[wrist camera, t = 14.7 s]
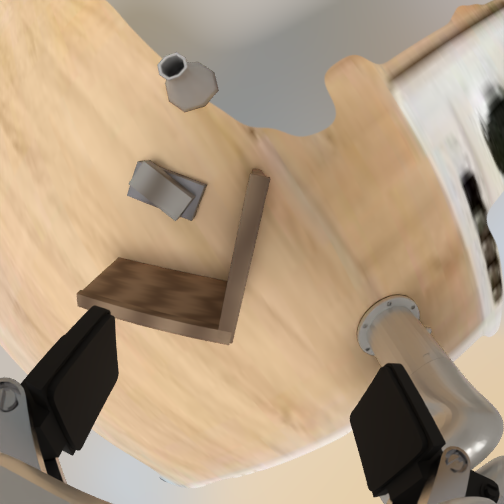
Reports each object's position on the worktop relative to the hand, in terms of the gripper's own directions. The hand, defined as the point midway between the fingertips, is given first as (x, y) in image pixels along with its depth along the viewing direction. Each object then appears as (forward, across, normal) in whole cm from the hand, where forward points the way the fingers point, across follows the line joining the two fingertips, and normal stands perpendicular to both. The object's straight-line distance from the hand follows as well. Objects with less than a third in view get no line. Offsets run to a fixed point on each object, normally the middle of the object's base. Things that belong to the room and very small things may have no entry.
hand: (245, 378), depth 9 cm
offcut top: (+29, +12, -1) cm, 32 cm away
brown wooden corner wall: (+31, +10, +4) cm, 33 cm away
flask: (+31, +12, -15) cm, 37 cm away
